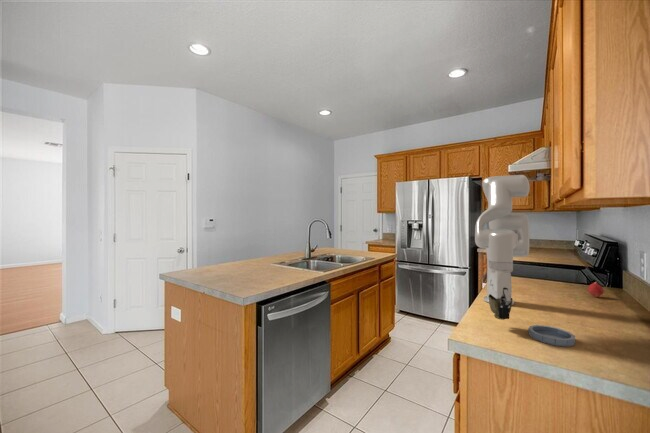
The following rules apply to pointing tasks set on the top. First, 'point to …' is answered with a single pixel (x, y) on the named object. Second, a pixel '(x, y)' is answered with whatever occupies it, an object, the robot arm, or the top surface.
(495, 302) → the cup
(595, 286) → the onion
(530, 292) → the top surface
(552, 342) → the dish
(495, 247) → the robot arm
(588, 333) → the top surface
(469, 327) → the top surface
